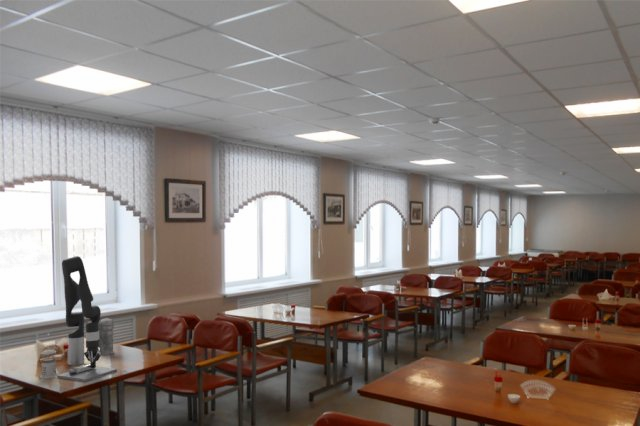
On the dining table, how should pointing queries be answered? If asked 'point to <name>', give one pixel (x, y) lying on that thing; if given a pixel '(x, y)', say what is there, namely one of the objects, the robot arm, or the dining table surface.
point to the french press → (48, 364)
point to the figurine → (106, 336)
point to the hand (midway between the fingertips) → (93, 368)
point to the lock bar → (80, 369)
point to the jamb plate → (88, 374)
